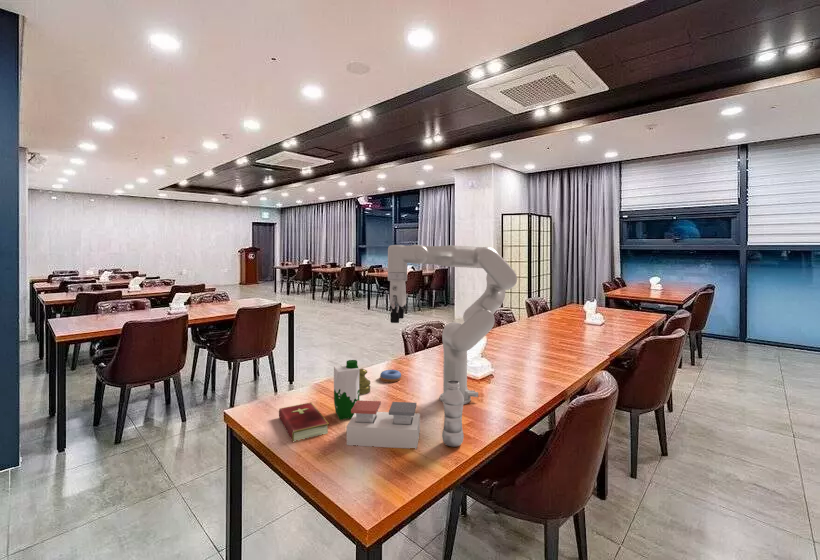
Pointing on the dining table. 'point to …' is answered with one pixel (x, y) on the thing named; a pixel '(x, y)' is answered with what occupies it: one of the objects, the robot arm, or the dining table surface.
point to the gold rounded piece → (363, 382)
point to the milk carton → (346, 388)
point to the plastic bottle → (453, 415)
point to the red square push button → (366, 411)
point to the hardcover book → (303, 421)
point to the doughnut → (390, 376)
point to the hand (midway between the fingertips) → (397, 320)
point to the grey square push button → (402, 412)
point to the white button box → (384, 432)
